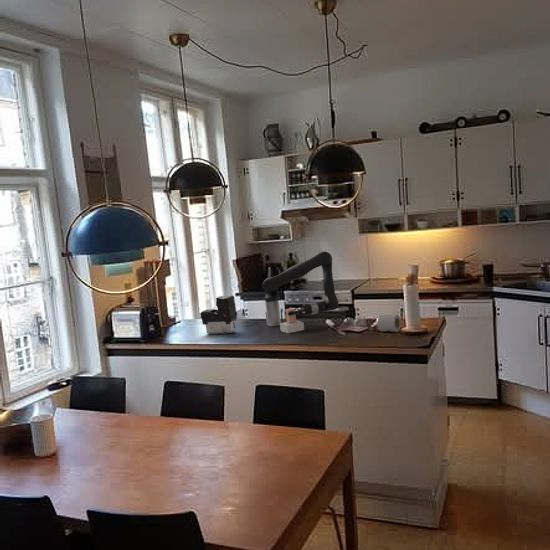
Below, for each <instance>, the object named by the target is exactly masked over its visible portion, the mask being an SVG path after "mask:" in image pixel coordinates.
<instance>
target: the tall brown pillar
mask: <svg viewBox="0 0 550 550" xmlns="http://www.w3.org/2000/svg"><path fill="white" fill-rule="evenodd" d="M294 308H295V307H294ZM294 308H293V307H291V308H290V307H289V308H286V309H285V311H286V315H285V319H286V322H287V324H289V323H294V322H296V320H297V315H290V316H289V315H288V312H292V311H293V312H294V311H295V309H294ZM285 311H284V312H285Z"/></svg>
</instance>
